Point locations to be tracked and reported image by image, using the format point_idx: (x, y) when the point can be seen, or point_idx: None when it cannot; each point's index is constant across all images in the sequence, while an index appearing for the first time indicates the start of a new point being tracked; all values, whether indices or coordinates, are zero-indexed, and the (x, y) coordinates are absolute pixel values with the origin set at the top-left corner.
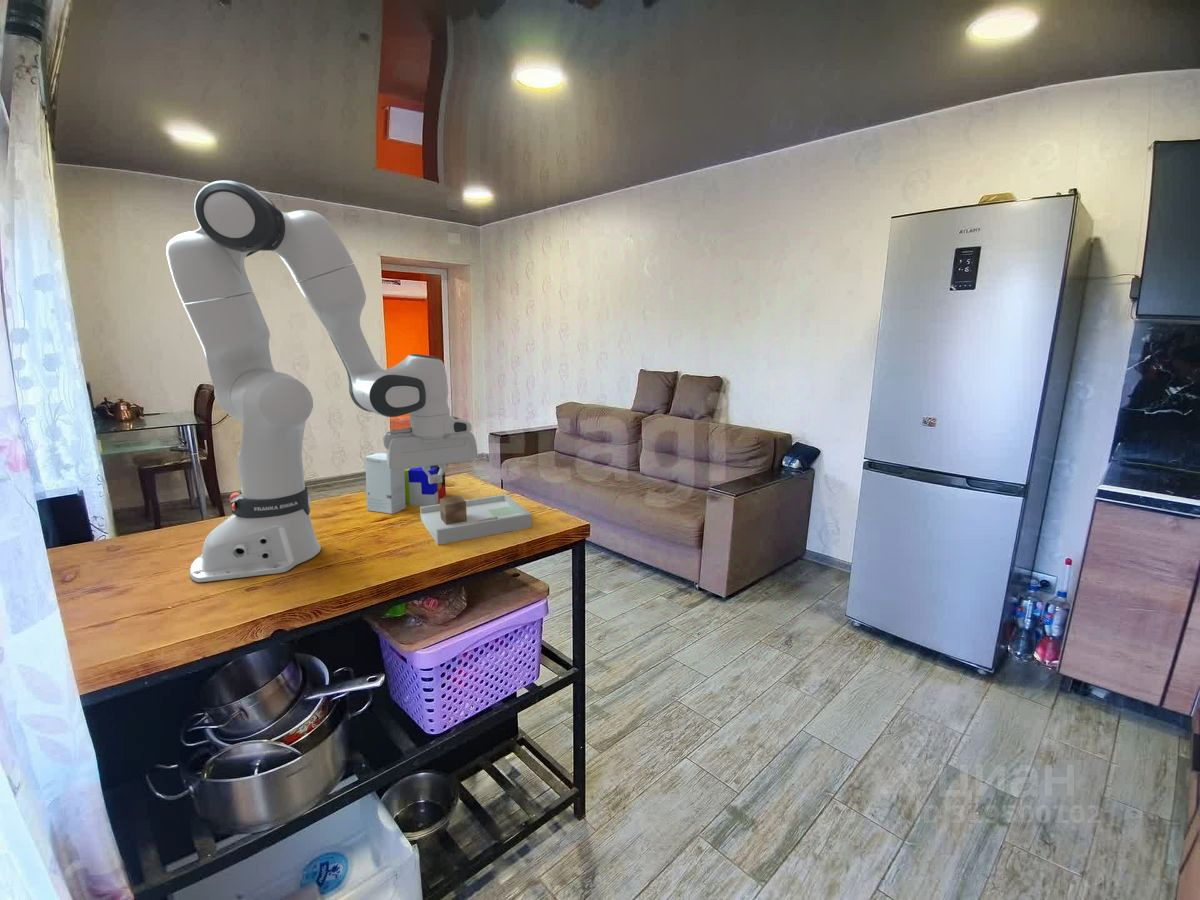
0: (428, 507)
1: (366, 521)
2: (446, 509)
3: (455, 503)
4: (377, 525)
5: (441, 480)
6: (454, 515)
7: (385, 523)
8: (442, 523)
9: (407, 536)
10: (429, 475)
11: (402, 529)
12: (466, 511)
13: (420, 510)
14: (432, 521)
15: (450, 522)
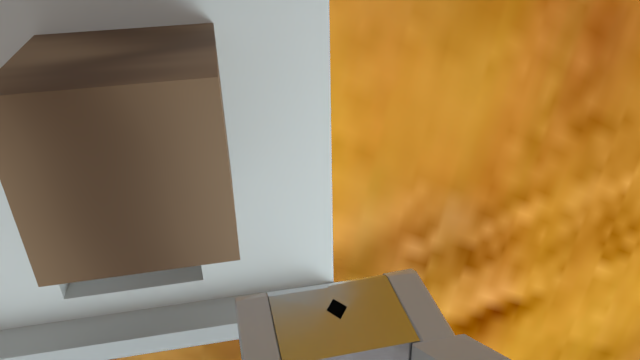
0: None
1: (553, 315)
2: (204, 61)
3: (100, 84)
4: (531, 257)
5: (251, 310)
6: (132, 45)
7: (492, 271)
8: (235, 61)
9: (451, 48)
10: (471, 358)
11: (445, 167)
12: None
13: None
14: (296, 127)
15: (175, 29)
